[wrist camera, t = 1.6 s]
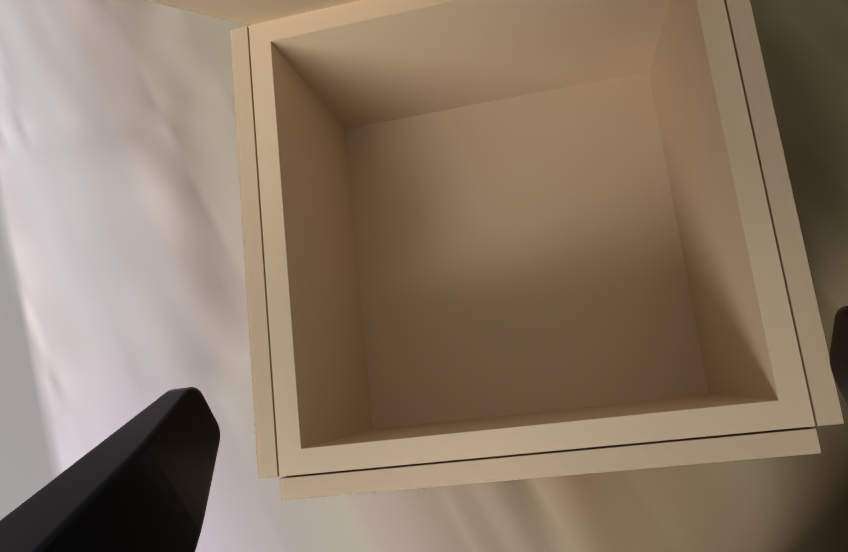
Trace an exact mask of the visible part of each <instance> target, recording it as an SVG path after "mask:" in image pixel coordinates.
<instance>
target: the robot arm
mask: <svg viewBox="0 0 848 552" xmlns="http://www.w3.org/2000/svg"><path fill="white" fill-rule="evenodd" d="M830 367H831V371H832V374H833V376H834V379H835V381H836V383H837V385H838V388H839V390H840V392H841V394H842V396H843V399H844V401H845V403H846V405H847V408H848V306H844V307H842V308H840V309H839V310H838V311H837V313H836V315H835V319H834V327H833V334H832V341H831V349H830ZM219 441H220V430H219V426H218V423H217V421H216V419H215V417H214V416H213V414H212V412H211V410H210V408H209V406H208V404H207V402H206V400H205V399H204V397H203V395H202V393H201V392H200V391H199V390H198V389H197V388H194V387H188V388H180V389H173V390H170V391H168V392H166V393H165V394H164V395H162V396H161V397H160V398H158V399H157V400H156V401H155V402H153V403H152V404H151V405H149V406H148V407H147V408H145V409H144V410H143V411H142V412H140V413H139V414H138V415H136V416H135V417H134V418H133V419H131V420H130V421H129V422H127V423H126V424H125V425H123V426H122V427H121V428H120V429H118V430H117V431H116V432H114V433H113V434H112V435H111V436H109V437H108V438H107V439H105V440H104V441H103V442H101V443H100V444H99V445H98V446H96V447H95V448H94V449H92V450H91V451H90V452H89V453H87V454H86V455H85V456H83V457H82V458H81V459H79V460H78V461H77V462H76V463H74V464H73V465H72V466H70V467H69V468H68V469H67V470H65V471H64V472H63V473H61V474H60V475H59V476H57V477H56V478H55V479H54V480H52V481H51V482H50V483H49V484H47V485H46V486H45V487H43V488H42V489H41V490H39V491H38V492H37V493H36V494H34V495H33V496H32V497H30V498H29V499H28V500H26V501H25V502H24V503H23V504H21V505H20V506H19V507H18V508H16V509H15V510H14V511H12V512H11V513H10V514H8V515H7V516H6V517H4V518H3V519H2V520H1V521H0V552H195V550H196V547H197V543H198V540H199V536H200V533H201V529H202V524H203V520H204V516H205V511H206V506H207V501H208V496H209V491H210V486H211V481H212V476H213V471H214V466H215V461H216V457H217V452H218V447H219Z"/></svg>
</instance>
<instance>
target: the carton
mask: <svg viewBox="0 0 848 552" xmlns="http://www.w3.org/2000/svg"><path fill="white" fill-rule="evenodd" d="M230 36H231V52H232V68H233V84H234V100H235V116H236V132H237V147H238V163H239V179H240V195H241V211H242V227H243V243H244V259H245V275H246V291H247V307H248V323H249V339H250V355H251V371H252V387H253V402H254V418H255V434H256V450H257V466H258V479H260V478H271V477H278V476H279V477H281V476H286V477H283V478H280V492H281V500H290V499H302V498H313V497H325V496H336V495H348V494H359V493H371V492H382V491H394V490H405V489H417V488H428V487H440V486H451V485H462V484H474V483H485V482H497V481H508V480H520V479H531V478H543V477H554V476H566V475H577V474H589V473H600V472H612V471H623V470H634V469H646V468H657V467H669V466H680V465H692V464H703V463H715V462H726V461H738V460H749V459H761V458H772V457H784V456H795V455H806V454H818V453H821V450H820V445H819V440H818V436H817V431H816V429H815V428H810V427H813V426H823V425H834V424H844V421H843V417H842V412H841V408H840V403H839V399H838V394H837V390H836V385H835V381H834V376H833V374H832V371H831V367H830V358H829V354H828V349H827V345H826V340H825V336H824V331H823V327H822V322H821V318H820V313H819V309H818V304H817V300H816V295H815V291H814V286H813V282H812V277H811V273H810V268H809V264H808V259H807V255H806V250H805V246H804V241H803V237H802V232H801V228H800V223H799V219H798V215H797V210H796V206H795V201H794V197H793V192H792V188H791V183H790V179H789V174H788V170H787V165H786V161H785V156H784V152H783V147H782V143H781V138H780V134H779V129H778V125H777V120H776V116H775V111H774V107H773V102H772V98H771V93H770V89H769V84H768V80H767V75H766V71H765V66H764V62H763V57H762V53H761V48H760V44H759V39H758V35H757V30H756V26H755V21H754V17H753V12H752V8H751V3H750V0H360V1H356V2H351V3H347V4H342V5H338V6H334V7H329V8H325V9H320V10H316V11H312V12H307V13H303V14H298V15H294V16H289V17H285V18H281V19H276V20H272V21H267V22H263V23H259V24H254V25H250V26H249V28H248V27H247V26H245V27H241V28H236V29H232V30H230Z"/></svg>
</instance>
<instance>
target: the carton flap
mask: <svg viewBox="0 0 848 552" xmlns="http://www.w3.org/2000/svg"><path fill="white" fill-rule="evenodd" d="M146 1H150V2H154V3H158V4H162V5H167V6H171V7H175V8H179V9H183V10H187V11H191V12H195V13H199V14H203V15H207V16H211V17H215V18H219V19H223V20H228V21H232V22H236V23H240V24H244V25H248V26H250V25H254V24H258V23H263V22H267V21H272V20H276V19H280V18H285V17H289V16H294V15H298V14H303V13H307V12H311V11H316V10H320V9H325V8H329V7H333V6H338V5H342V4H347V3H351V2H356V1H360V0H146Z"/></svg>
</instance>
